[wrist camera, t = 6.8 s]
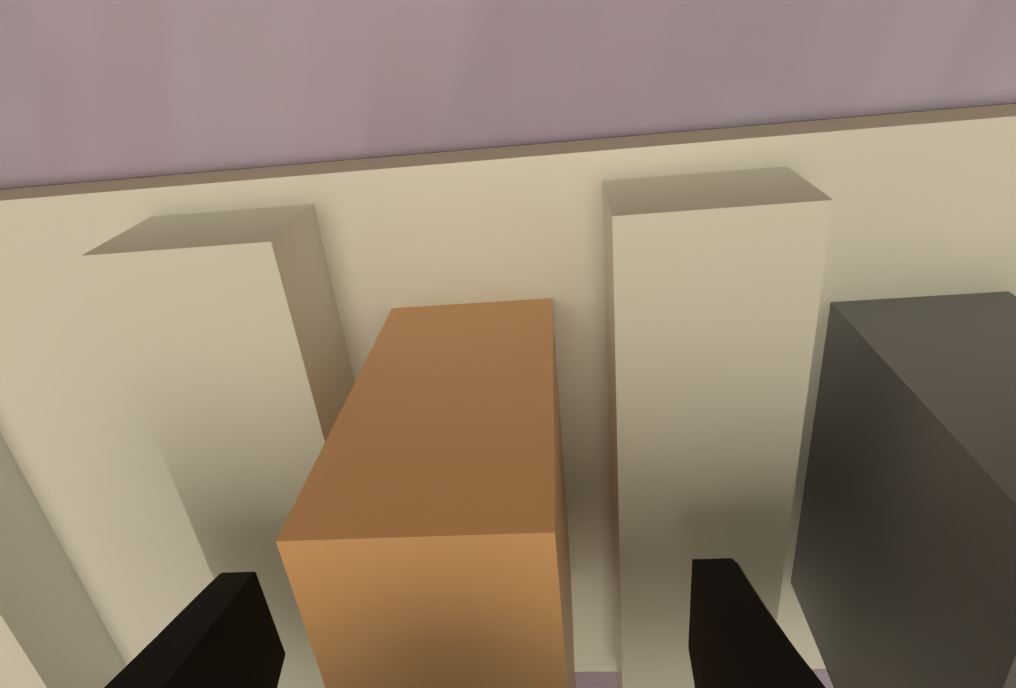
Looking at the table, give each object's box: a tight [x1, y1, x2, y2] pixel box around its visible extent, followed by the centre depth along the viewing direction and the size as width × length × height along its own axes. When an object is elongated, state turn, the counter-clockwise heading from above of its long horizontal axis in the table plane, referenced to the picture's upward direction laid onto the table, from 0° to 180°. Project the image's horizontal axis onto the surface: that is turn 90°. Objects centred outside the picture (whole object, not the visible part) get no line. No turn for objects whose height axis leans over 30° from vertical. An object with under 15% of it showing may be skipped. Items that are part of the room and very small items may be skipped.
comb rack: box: [0, 103, 1016, 688], centre depth 14 cm, size 13×27×3 cm, turn 95°
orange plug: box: [276, 298, 575, 688], centre depth 11 cm, size 7×3×6 cm, turn 5°
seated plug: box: [791, 291, 1016, 688], centre depth 11 cm, size 7×3×6 cm, turn 5°
